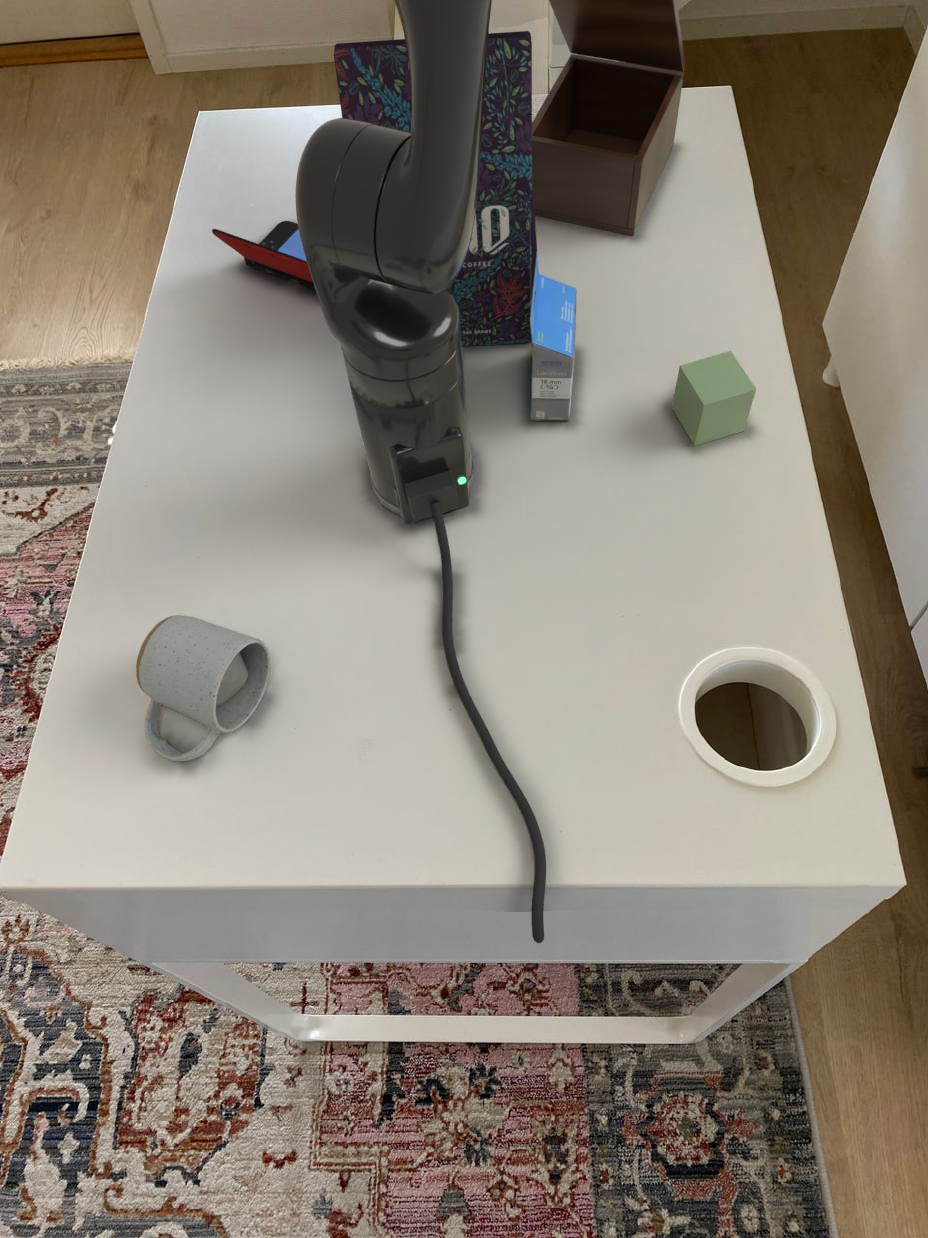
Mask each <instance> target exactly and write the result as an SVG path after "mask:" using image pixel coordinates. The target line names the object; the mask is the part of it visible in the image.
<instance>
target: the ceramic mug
mask: <svg viewBox="0 0 928 1238" xmlns="http://www.w3.org/2000/svg"><path fill="white" fill-rule="evenodd" d="M271 665H272V664H271V655H270V651H269V648H268V646H267V645H266V643H265V642H264V641H263V640H261V639H259V638H257V637H255V636H251V635H248V634H245V633H241V632H239V631H236V630H233V629H231V628H228V627H224V626H222V625H218V624H214V623H212V622H209V621H207V620H204V619H201V618H199V617H194V616H191V615H189V616H188V615H181V614H177V615H170V616H168V617H165V618H164V619H162V620H160V621H158V623H156V624H155V625H154V627H152V629H151V630H150V631H149V632H148V634H147V635H146V637H145V638H144V640H143V641H142V644H141V646H140V648H139V652H138V654H137V658H136V664H135V666H136V667H135V674H136V675H135V676H136V679H137V684H138V686H139V688H140V690H142V692H143V693H144V694H145V695H147V696H148V697H149V698H150V699H151V701H150V703H149V704H148V706H147V710H146V714H145V718H144V732H145V737H146V739H147V742H148V743H149V746H150V747H151V748H152V749H153V750H154V752H155V753H157V754H158V755H160V757H161V756H162V757H163V758H165V759H167V760H169V761H172V762H188V761H193V760H195V759H198V758H199V757H201V756H203V755H204V754H206V752H208V751H209V750H210V748H211V747H212V746H213V744H214V743H215V741H216V740H217V739H218V736H219V735H220V733H221V734H229V733H232V732H235V731H237V730H238V729H239V728H241V727H242V726H244V725H245V724H246V723H247V721H248V720H249V719H250V718H251V717H252V716H253V714H254V712H255V711H256V710H257V708H258V706H259V704H260V702H261V701H262V698H263V697H264V695H265V692H266V689H267V687H268V683H269V679H270V675H271V669H272V667H271ZM163 706H164V707H167V708H169V709H172V710H173V711H176V712H178V713H180V714H182V715H184V716H186V717H187V718H190V719H192V720H193V721H196V722H197V723H199V724H201V725H204V726H206V728H207V729H206V732H205V734H204V735H203V737H202V738H201V739H200V741H199V742H198V744H196V746H194V747H193V748H192V749H190V750H188V751H187V752H181V751H180V750H178V749H176V748H174V747H173V746H172V745H170V744H169V743H168V741H167V740H166V739H164V738H162V737H161V735H160V734H161V733H160V730H159V723H160V716H161V712H162V709H163Z"/></svg>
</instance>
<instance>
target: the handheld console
mask: <svg viewBox="0 0 928 1238" xmlns="http://www.w3.org/2000/svg"><path fill="white" fill-rule="evenodd" d="M211 232H212V234H213V235H214V236H215V237H216V238H218V239H219V240H220V241H221V242H223V243H224V244H225V245H227V246H228V247H230V248H231V249H232V250H233V251H235V252H237V253H238V254H239V255H241V256H242V257H243V258H244V262H245V264H246V266H247V267H249V268H250V269H253V270H255V271H261V272H263V273H265V274H269V275H271V276H274V277H277V278H280V279H284V280H287V281H294V282H296V283H298V284H299V285H300V286H302V287H304V288H307V289H308V290H309V289H310V290H312V291H315V292H316V289H315V286H314V283H313V280H312V276H311V273H310V270H309V267H308V264H307V261H306V257H305V254H304V250H303V247H302V243H301V239H300V234H299V229H298V223H296V222H293V221H290V220H282V221H280V222H279V223H277V224H276V225H275V226H274V227H273V228H272V229H271V231H269V232H268V233H267V235H266V236H265V237H264V238H263V239H262V240H261V241H260V242H259V243H257V242H254V241H251V240H248V239H245V238H242V237H240V236H237V235H234V234H231V233H228V232H226V231H223V230H220V229H217V228H212V229H211Z"/></svg>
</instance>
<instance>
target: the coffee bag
mask: <svg viewBox="0 0 928 1238" xmlns="http://www.w3.org/2000/svg"><path fill="white" fill-rule="evenodd" d="M333 61H334V68H335V75H336V84H337V90H338V97H339V104H340V105H339V106H340V111H341V118H350V119H355V120H360V121H365V122H369V123H374V124H378V125H383V126H387V127H392V128H396V129H400V130H405V131H409V132H411V110H412V105H411V77H410V65H409V58H408V51H407V46H406V41H405V38H400V39H399V38H398V39H384V40H370V41H369V40H368V41H355V42H353V41H352V42H339V43H337V42H336V44H335V45H334V50H333ZM532 122H533V41H532V34H531V31H529V30H523V31H522V30H521V31H519V30H518V31H505V32H492V33H491V32H489V34H488V45H487V60H486V75H485V91H484V107H483V124H482V141H481V159H480V173H479V186H478V198H477V207H476V215H475V222H474V227H473V233H472V237H471V242H470V246H469V249H468V253H467V256H466V259H465V261H464V264H463V267H462V269H461V271H460V272H459V274H458V276H457V278H456V279H455V281H454V282H453V283H452V284H451V285H450V286H449V288H450V289H451V291H452V292H453V294H454V296H455V298H456V301H457V304H458V307H459V313H460V322H461V336H462V347H470V346H471V347H473V346H475V347H476V346H493V345H513V344H530V343H532V339H531V329H530V310H531V299H532V289H533V279H534V270H535V260H536V252H538V242H537V241H538V240H537V226H536V216H535V210H534V195H533V180H532Z"/></svg>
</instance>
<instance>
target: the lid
mask: <svg viewBox="0 0 928 1238" xmlns="http://www.w3.org/2000/svg"><path fill="white" fill-rule="evenodd" d="M548 1H549V4H550V6H551V9H552V11H553V14H554V16H555V19H556V21H557V24H558V26H559V29H560V31H561V33H562V36H563V38H564V40H565V43H566V45H567V48H568V50H569V53H570V54H574V55H580V56H586V57H592V58H598V59H604V60H610V61H616V62H622V63H628V64H634V65H640V66H646V67H653V68H659V69H665V70H671V71H676V72H683V73H684V72H685V69H686V65H687V64H686V56H685V50H684V43H683V35H682V29H681V23H680V22H681V21H680V15H679V7H678V2H677V1H678V0H548Z"/></svg>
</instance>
